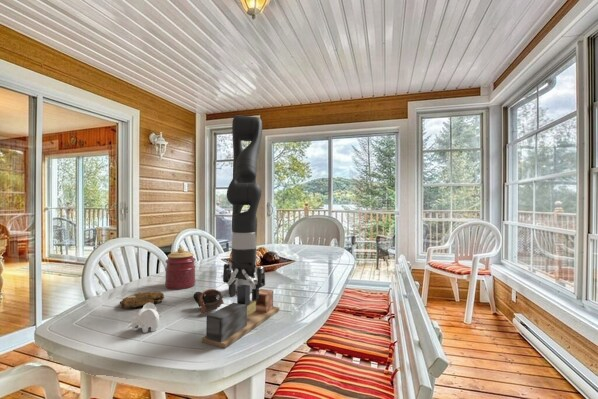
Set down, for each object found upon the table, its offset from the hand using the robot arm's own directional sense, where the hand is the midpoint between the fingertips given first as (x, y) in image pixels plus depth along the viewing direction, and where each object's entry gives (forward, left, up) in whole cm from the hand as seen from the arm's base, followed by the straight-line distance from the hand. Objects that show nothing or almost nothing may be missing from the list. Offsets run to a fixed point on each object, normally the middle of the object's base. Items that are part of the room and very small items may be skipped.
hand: (243, 298), depth 93 cm
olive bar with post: (0, -4, -5) cm, 6 cm away
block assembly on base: (0, +1, -9) cm, 9 cm away
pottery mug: (-20, +6, -9) cm, 23 cm away
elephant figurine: (-25, -15, -9) cm, 30 cm away
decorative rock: (-46, +1, -9) cm, 47 cm away
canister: (-52, +24, -9) cm, 58 cm away
